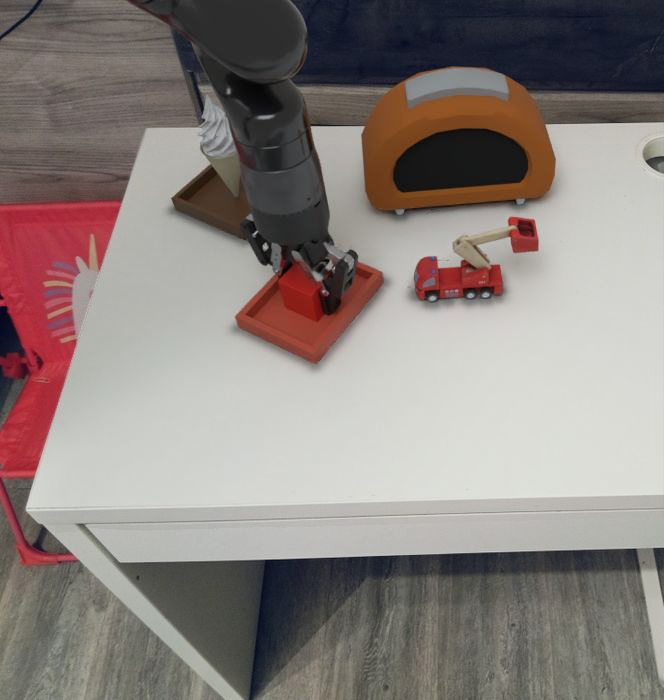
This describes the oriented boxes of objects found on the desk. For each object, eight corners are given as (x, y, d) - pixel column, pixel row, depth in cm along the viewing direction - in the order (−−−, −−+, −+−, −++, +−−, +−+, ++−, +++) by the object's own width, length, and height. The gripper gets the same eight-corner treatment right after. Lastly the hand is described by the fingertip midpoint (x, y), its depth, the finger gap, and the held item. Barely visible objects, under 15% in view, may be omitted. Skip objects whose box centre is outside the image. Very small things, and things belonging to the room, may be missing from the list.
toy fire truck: (414, 281, 90) (409, 221, 83) (530, 275, 91) (536, 214, 83) (415, 303, 88) (411, 243, 81) (533, 296, 89) (540, 236, 81)
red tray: (315, 364, 83) (313, 353, 82) (238, 327, 86) (234, 316, 85) (383, 282, 90) (382, 271, 89) (310, 251, 93) (307, 239, 92)
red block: (317, 322, 86) (310, 296, 83) (284, 307, 88) (277, 281, 84) (340, 296, 89) (335, 269, 85) (308, 281, 90) (301, 254, 86)
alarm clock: (369, 221, 97) (354, 108, 83) (365, 174, 102) (350, 60, 89) (552, 205, 98) (566, 92, 85) (539, 160, 104) (550, 46, 90)
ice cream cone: (263, 187, 100) (236, 85, 88) (246, 212, 97) (215, 111, 85) (227, 179, 101) (196, 78, 89) (209, 205, 98) (174, 104, 86)
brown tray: (244, 240, 95) (241, 228, 93) (175, 209, 98) (170, 198, 96) (299, 186, 100) (296, 175, 99) (231, 159, 104) (228, 148, 102)
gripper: (201, 184, 74) (242, 299, 88) (322, 235, 70) (346, 348, 84) (250, 141, 78) (282, 258, 92) (368, 186, 74) (383, 302, 88)
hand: (312, 300), depth 88 cm, fingers open, 4 cm apart
